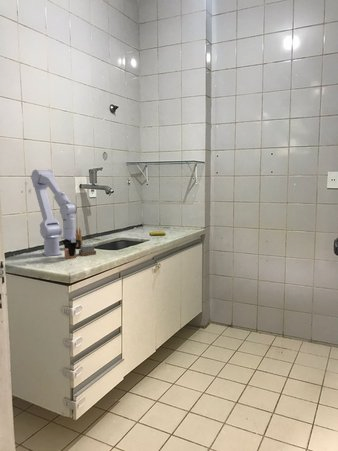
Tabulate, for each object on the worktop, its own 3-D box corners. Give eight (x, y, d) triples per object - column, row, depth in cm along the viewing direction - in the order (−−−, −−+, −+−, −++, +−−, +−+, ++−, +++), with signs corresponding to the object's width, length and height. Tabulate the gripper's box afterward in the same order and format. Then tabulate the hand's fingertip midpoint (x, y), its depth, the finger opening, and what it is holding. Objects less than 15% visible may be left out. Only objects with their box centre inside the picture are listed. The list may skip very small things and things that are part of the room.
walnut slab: (78, 254, 198) (78, 249, 197) (91, 253, 201) (91, 248, 201) (82, 257, 192) (82, 252, 191) (96, 255, 195) (95, 250, 195)
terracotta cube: (64, 257, 189) (64, 248, 188) (73, 256, 191) (73, 247, 190) (67, 259, 185) (66, 250, 184) (76, 258, 187) (75, 249, 187)
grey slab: (80, 249, 197) (80, 245, 197) (90, 248, 200) (90, 244, 200) (83, 251, 192) (83, 246, 192) (94, 250, 195) (94, 245, 195)
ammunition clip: (64, 248, 213) (63, 227, 212) (66, 247, 215) (65, 226, 213) (81, 249, 210) (80, 227, 209) (82, 248, 212) (82, 227, 210)
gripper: (57, 226, 190) (58, 253, 192) (64, 230, 178) (65, 258, 180) (71, 225, 194) (72, 251, 196) (79, 229, 181) (80, 256, 183)
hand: (70, 254), depth 188 cm, fingers open, 5 cm apart
